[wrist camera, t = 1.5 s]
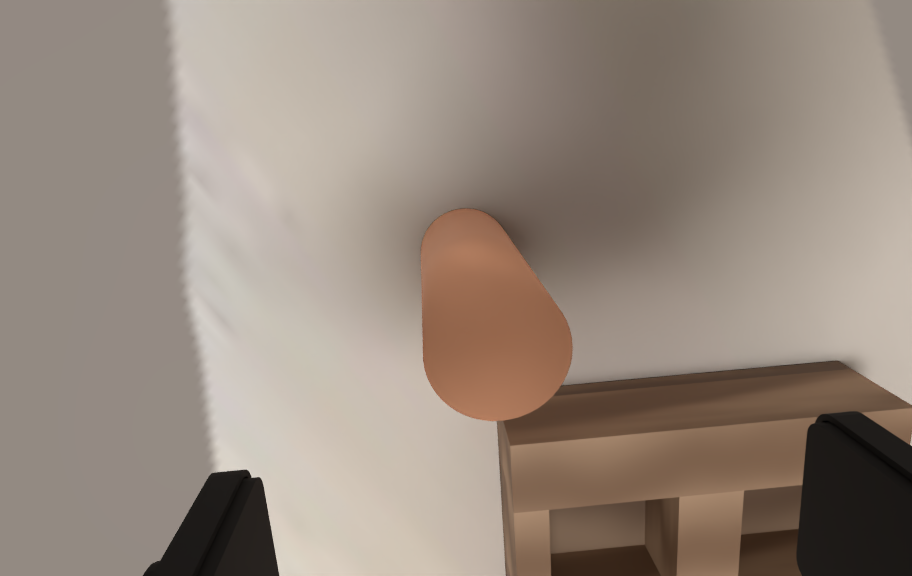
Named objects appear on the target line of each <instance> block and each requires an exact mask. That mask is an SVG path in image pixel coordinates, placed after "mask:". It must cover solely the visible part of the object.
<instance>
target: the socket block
mask: <svg viewBox="0 0 912 576" xmlns="http://www.w3.org/2000/svg"><path fill="white" fill-rule="evenodd" d="M848 411H858V412H860V413H862V414H864V415H865V416H867V417H868V418H870V419H871V420H873V421H874V422H876V423H877V424H879V425H880V426H882V427H883V428H885V429H886V430H888V431H889V432H891V433H892V434H894V435H895V436H897V437H898V438H900V439H901V440H903V441H905V442H906V443H908V444H909V445H910V441H911V434H912V405H910V404H909V403H907V402H905V401H904V400H902V399H900V398H899V397H897V396H895V395H894V394H892V393H890V392H889V391H887V390H885V389H884V388H882V387H880V386H879V385H877V384H875V383H874V382H872V381H870V380H869V379H867V378H865V377H864V376H862V375H861V374H859V373H857V372H856V371H854V370H852V369H851V368H849V367H847V366H846V365H844V364H842V363H841V362H839V361H830V362H819V363H808V364H797V365H786V366H775V367H764V368H753V369H742V370H731V371H720V372H709V373H698V374H687V375H676V376H665V377H654V378H643V379H632V380H621V381H610V382H599V383H588V384H577V385H566V386H560V388H559V389H558V390H557V392H556V393H555V394H554V395H553V396H552V397H551V398H550V399H549V400H548V401H547V402H546V403H545V404H543V405H542V406H540V407H539V408H538V409H536V410H534V411H532V412H530V413H528V414H526V415H523V416H521V417H518V418H514V419H509V420H503V421H497V429H498V446H499V464H500V481H501V498H502V516H503V533H504V550H505V568H506V576H802V575H801V573H800V571H799V568H798V565H797V560H796V551H797V540H798V529H799V518H800V506H801V495H802V484H803V472H804V461H805V450H806V439H807V431H808V428H809V426H810V425H811V424H813V423H815V421H816V419H817V418H818V416H820V415H821V414H828V413H838V412H848Z"/></svg>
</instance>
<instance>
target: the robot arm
mask: <svg viewBox="0 0 912 576" xmlns="http://www.w3.org/2000/svg"><path fill="white" fill-rule="evenodd" d="M796 560H797V565H798V568H799V571H800V573H801V575H802V576H912V446H911V445H909V444H908V443H906V442H905V441H903V440H901V439H900V438H898V437H897V436H895V435H894V434H892V433H891V432H889V431H888V430H886V429H885V428H883V427H882V426H880V425H879V424H877V423H876V422H874V421H873V420H871V419H870V418H868V417H867V416H865V415H864V414H862V413H860V412H858V411H848V412H838V413H828V414H821V415H820V416H818V418H817V419H816V421H815V423H813V424H811V425H810V426H809V428H808V431H807V439H806V450H805V461H804V472H803V484H802V495H801V506H800V518H799V529H798V540H797V551H796ZM143 576H279V572H278V566H277V560H276V555H275V549H274V543H273V538H272V532H271V526H270V521H269V515H268V509H267V504H266V498H265V492H264V487H263V482H262V480H261V478H259V477H257V478H251V475H250V473H249V471H248V470H238V471H227V472H217V473H212V474H211V475H210V476H209V477H208V479H207V481H206V482H205V484H204V486H203V488H202V489H201V491H200V493H199V495H198V496H197V498H196V500H195V501H194V503H193V505H192V507H191V509H190V510H189V512H188V514H187V515H186V517H185V519H184V521H183V522H182V524H181V526H180V527H179V529H178V531H177V533H176V534H175V536H174V538H173V540H172V541H171V543H170V545H169V547H168V548H167V550H166V552H165V554H164V555H163V557H162V559H161V561H157V562H155V563H153V564H151V565H150V567H149V568H148V569H147V570H146V572H145V573H144V575H143Z"/></svg>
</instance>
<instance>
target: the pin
mask: <svg viewBox="0 0 912 576" xmlns="http://www.w3.org/2000/svg"><path fill="white" fill-rule="evenodd" d="M421 283H422V328H423V362H424V368H425V372H426V375H427V378H428V380H429V382H430V384H431V386H432V388H433V389H434V391H435V392H436V394H437V395H438V396H439V397H440V398H441V399H442V400H443V401H444V402H445V403H446V404H447V405H448V406H450V407H451V408H453V409H454V410H456V411H457V412H460V413H462V414H464V415H466V416H469V417H472V418H475V419H480V420H487V421H503V420H509V419H514V418H518V417H521V416H523V415H526V414H528V413H530V412H532V411H534V410H536V409H538V408H539V407H540V406H542V405H543V404H545V403H546V402H547V401H548V400H549V399H550V398H551V397H552V396H553V395H554V394H555V393H556V392H557V390H558V389H559V388H560V386H561V385H562V383H563V382H564V379H565V377H566V375H567V373H568V370H569V367H570V364H571V359H572V337H571V333H570V328H569V326H568V323H567V321H566V319H565V317H564V315H563V313H562V312H561V310H560V309H559V308H558V306H557V305H556V303H555V302H554V300H553V299H552V298H551V296H550V295H549V293H548V292H547V291H546V289H545V288H544V286H543V285H542V283H541V282H540V281H539V279H538V278H537V276H536V275H535V273H534V272H533V271H532V269H531V268H530V266H529V265H528V264H527V262H526V261H525V259H524V258H523V256H522V255H521V254H520V252H519V251H518V249H517V248H516V246H515V245H514V244H513V242H512V241H511V239H510V238H509V237H508V235H507V234H506V232H505V231H504V229H503V228H502V227H501V225H500V224H499V223H498V222H497V221H496V220H495V219H494V218H493V217H491V216H490V215H488V214H486V213H484V212H482V211H479V210H475V209H469V208H463V209H456V210H452V211H449V212H447V213H445V214H443V215H441V216H440V217H439V218H437V219H436V220H435V221H434V222H433V223H432V224H431V225H430V227H429V228H428V229H427V231H426V233H425V235H424V238H423V241H422V245H421Z"/></svg>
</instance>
